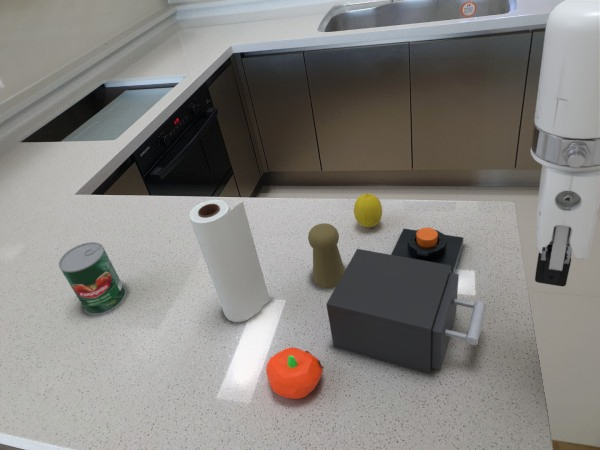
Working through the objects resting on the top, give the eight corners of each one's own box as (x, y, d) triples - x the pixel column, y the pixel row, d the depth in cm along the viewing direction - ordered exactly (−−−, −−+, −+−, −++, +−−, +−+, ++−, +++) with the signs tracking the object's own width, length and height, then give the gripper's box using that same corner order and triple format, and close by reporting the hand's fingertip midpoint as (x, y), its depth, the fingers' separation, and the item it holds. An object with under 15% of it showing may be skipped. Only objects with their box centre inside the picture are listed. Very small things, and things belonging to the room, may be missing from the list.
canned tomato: (96, 321, 83) (69, 277, 77) (77, 303, 88) (50, 260, 82) (134, 295, 87) (111, 251, 81) (114, 279, 92) (91, 236, 86)
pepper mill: (324, 262, 87) (317, 215, 80) (352, 271, 83) (347, 223, 77) (306, 282, 83) (297, 234, 76) (335, 293, 80) (327, 244, 73)
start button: (439, 237, 82) (439, 229, 81) (434, 249, 79) (435, 241, 78) (419, 233, 83) (419, 226, 82) (414, 246, 81) (414, 238, 80)
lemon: (353, 221, 96) (349, 189, 91) (379, 216, 95) (377, 184, 91) (358, 237, 91) (355, 204, 86) (386, 232, 91) (384, 198, 86)
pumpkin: (281, 357, 70) (273, 329, 67) (330, 369, 67) (325, 341, 64) (260, 397, 65) (251, 369, 62) (312, 413, 62) (305, 384, 58)
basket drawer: (485, 317, 69) (490, 279, 65) (472, 379, 62) (476, 341, 57) (373, 292, 77) (369, 257, 73) (348, 344, 69) (343, 308, 65)
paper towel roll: (218, 319, 79) (180, 219, 66) (234, 295, 83) (201, 196, 71) (255, 327, 76) (223, 224, 64) (270, 301, 80) (242, 200, 68)
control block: (462, 246, 84) (464, 229, 82) (453, 279, 78) (454, 261, 76) (403, 237, 89) (403, 220, 87) (389, 267, 83) (389, 250, 80)
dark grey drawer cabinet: (449, 310, 73) (451, 265, 67) (430, 375, 64) (430, 329, 58) (361, 291, 79) (357, 248, 73) (333, 347, 70) (326, 303, 65)
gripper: (628, 184, 37) (587, 335, 47) (620, 106, 47) (587, 245, 58) (524, 177, 40) (507, 319, 51) (538, 105, 50) (521, 236, 61)
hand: (550, 279), depth 54 cm, fingers closed
